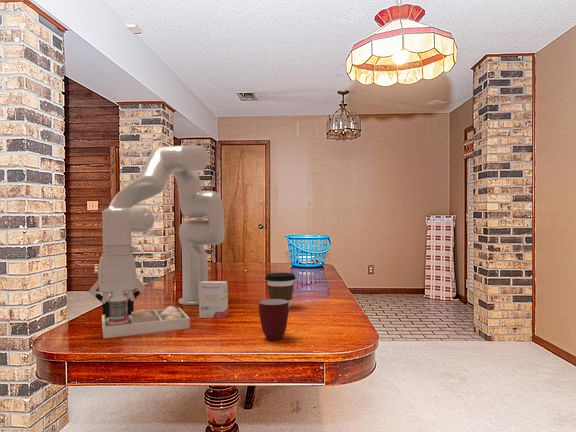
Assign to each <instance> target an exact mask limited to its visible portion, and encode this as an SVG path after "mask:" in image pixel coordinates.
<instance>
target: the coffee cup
mask: <svg viewBox="0 0 576 432" xmlns="http://www.w3.org/2000/svg"><path fill="white" fill-rule="evenodd" d="M296 279H297V278H296V276H295V274H294V273H293V272H292V273H290V272H271V273H267V274H266V275H265V277H264V280H265V281H266V282H267V284H266V285H267V292H268V297H269V299H283V300H287V301H288V302H289V308H290V307H291V303H292V299H293V291H294V286H295V285H294V283H295V280H296Z"/></svg>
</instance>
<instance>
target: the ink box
mask: <svg viewBox="0 0 576 432" xmlns="http://www.w3.org/2000/svg"><path fill="white" fill-rule="evenodd" d="M228 288H229V287H228V281H225V280H224V281H220V280H219V281H217V280H215V281H213V280H211V281H210V280H209V281H203V282H200V283H199V305H198V308H199V309H198V311H199V313H198V314H199V315H198V316H199V318H203V319H204V318H205V319H207V318H208V319H209V318H211V319H213V318H214V319H225V318H226V317H227V316H229V299H228V298H229V297H228V294H229V291H228V290H229V289H228Z"/></svg>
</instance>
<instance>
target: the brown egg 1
mask: <svg viewBox="0 0 576 432" xmlns="http://www.w3.org/2000/svg"><path fill="white" fill-rule="evenodd" d="M148 311H149V310H146V309H144V308H141V309H138V310H136V311H135V312H136V313H135V315H134V317H143V316H153V314H152V313H150V312H148Z"/></svg>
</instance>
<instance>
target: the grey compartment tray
mask: <svg viewBox="0 0 576 432" xmlns="http://www.w3.org/2000/svg"><path fill="white" fill-rule="evenodd" d="M175 308H176V309H177V312H179V313H180V314H181V316H182V318H180V319H171V320H164V319H165V318H166V317H167V316H168V314H163V315H160V314H161V312H163V311H164V310H165V308H162V309H151V310H147V311H148V312H150V313H152V314H153V316H143V317H134V315H135V313H136V311H133V312H131V315H128V322H127V323H125V324H120V325H111V324H109V323H108V320H107V319H108V318H106V316H105V314H102V315H101V328H102V329H101V330H102V338H103V339H104V340H105V339H113V338H119V337H127V336H128V337H129V336H138V335H146V334H155V333H162V332H163V333H164V332H171V331H179V330H185V329H186V330H187V329H191V324H190V323H191V322H190V320H191V318H190V317H189V315H188V314H187V313H186V312H185V311H184V310H183V309H182V308H181V307H175Z"/></svg>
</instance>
